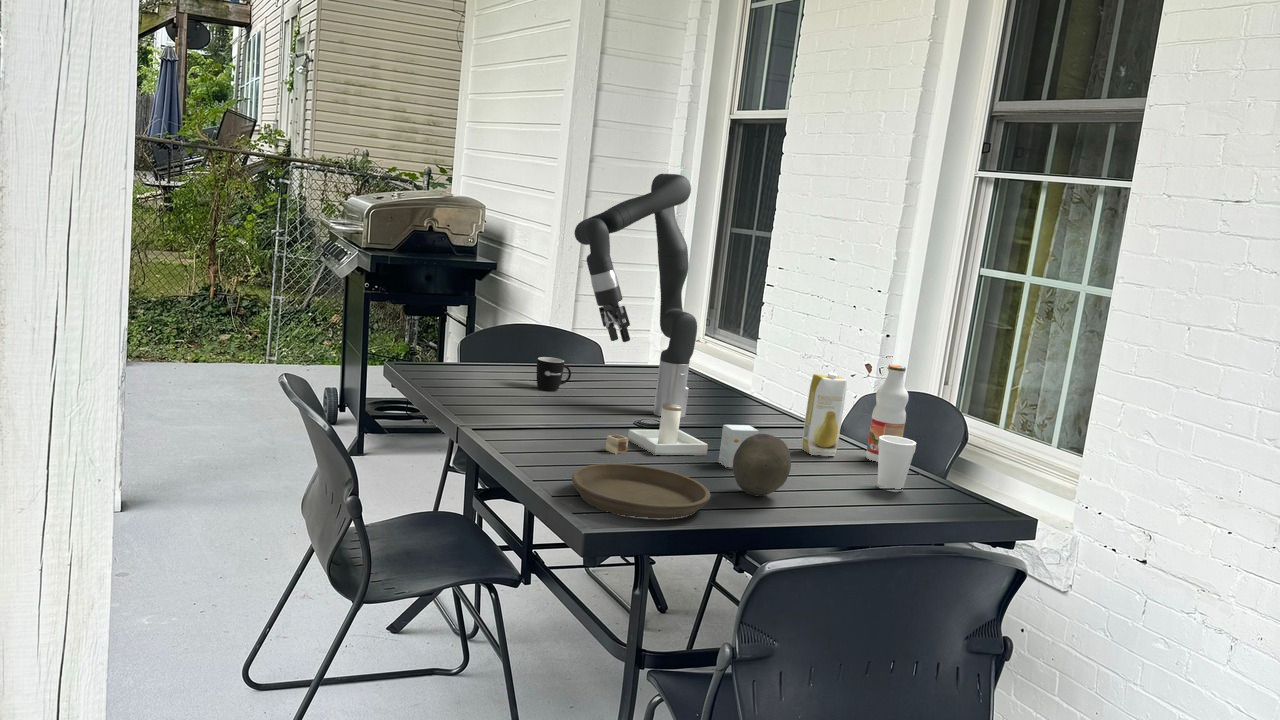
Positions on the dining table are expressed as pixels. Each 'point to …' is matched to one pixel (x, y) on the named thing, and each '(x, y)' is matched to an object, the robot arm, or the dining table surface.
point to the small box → (733, 441)
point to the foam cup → (894, 460)
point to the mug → (550, 373)
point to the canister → (669, 423)
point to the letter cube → (617, 444)
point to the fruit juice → (888, 410)
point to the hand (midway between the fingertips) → (620, 340)
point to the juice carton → (824, 414)
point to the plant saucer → (639, 490)
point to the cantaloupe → (761, 464)
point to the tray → (683, 446)
